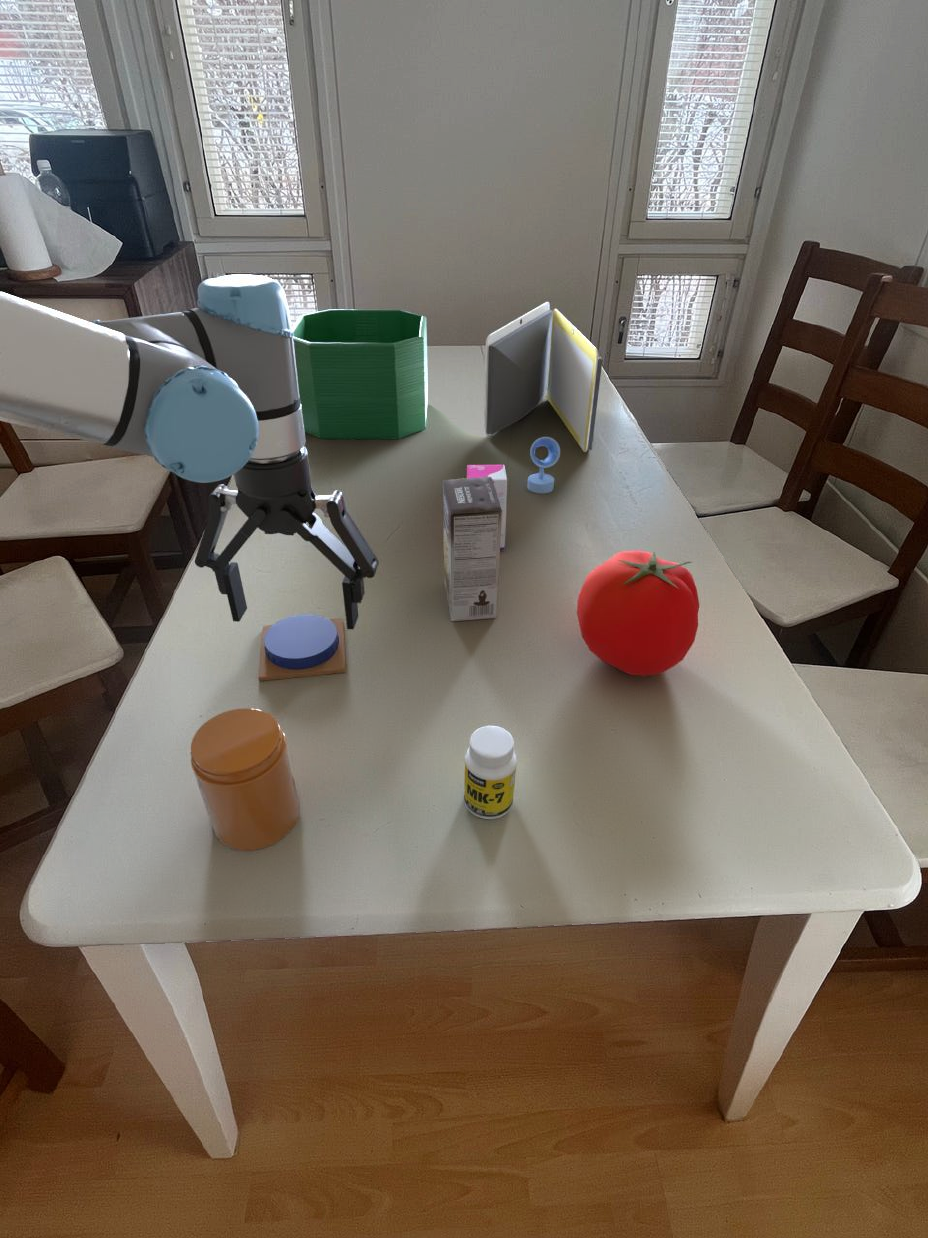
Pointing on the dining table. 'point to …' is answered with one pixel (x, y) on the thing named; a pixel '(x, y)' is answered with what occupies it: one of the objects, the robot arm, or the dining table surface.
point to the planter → (362, 373)
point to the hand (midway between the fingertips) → (296, 618)
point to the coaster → (328, 667)
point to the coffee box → (471, 547)
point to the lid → (301, 641)
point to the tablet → (542, 373)
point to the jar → (245, 778)
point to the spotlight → (543, 466)
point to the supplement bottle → (490, 772)
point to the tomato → (639, 612)
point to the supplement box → (500, 485)
